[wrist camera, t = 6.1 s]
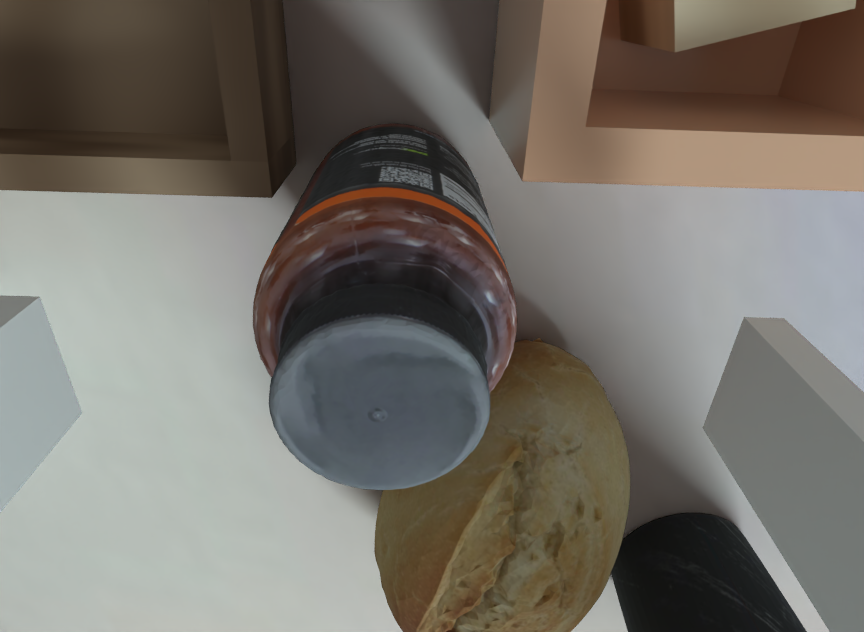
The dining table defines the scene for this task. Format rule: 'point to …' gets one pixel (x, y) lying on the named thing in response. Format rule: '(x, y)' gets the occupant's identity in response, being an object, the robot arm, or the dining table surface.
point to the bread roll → (514, 510)
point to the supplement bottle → (385, 313)
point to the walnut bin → (145, 97)
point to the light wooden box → (678, 102)
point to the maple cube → (713, 19)
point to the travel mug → (697, 580)
